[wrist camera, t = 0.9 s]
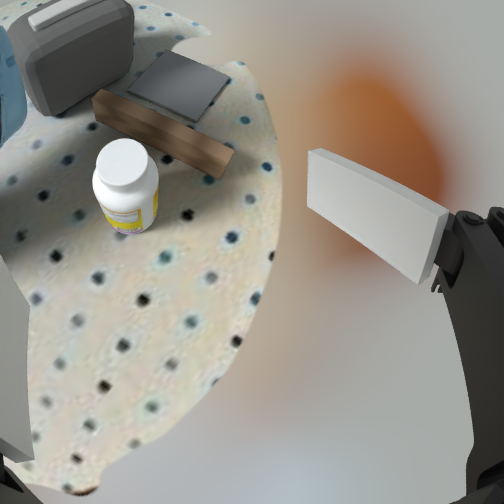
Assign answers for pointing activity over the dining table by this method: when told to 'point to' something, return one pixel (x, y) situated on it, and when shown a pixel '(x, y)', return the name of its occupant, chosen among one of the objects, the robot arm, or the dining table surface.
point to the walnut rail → (162, 133)
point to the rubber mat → (179, 85)
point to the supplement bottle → (126, 185)
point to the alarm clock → (72, 50)
